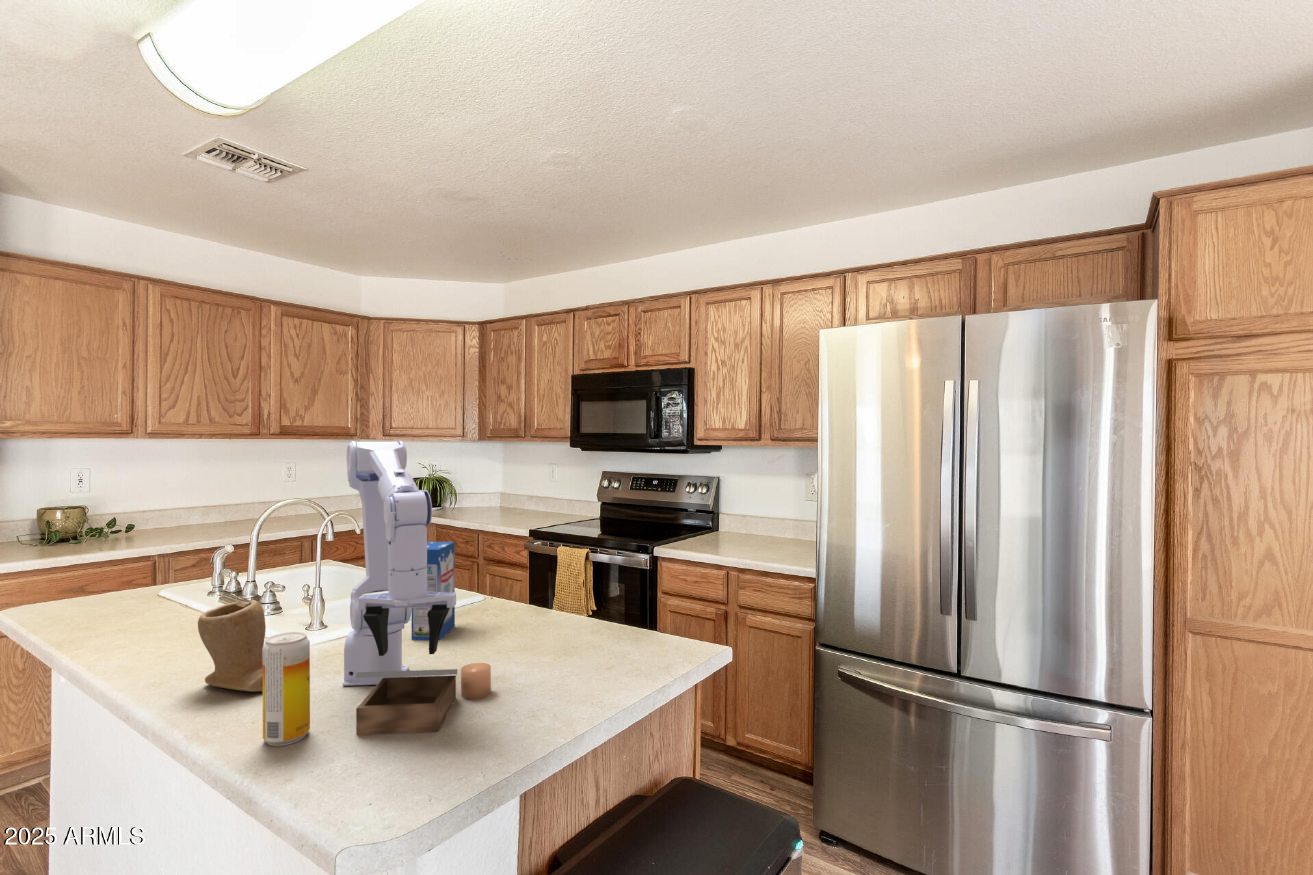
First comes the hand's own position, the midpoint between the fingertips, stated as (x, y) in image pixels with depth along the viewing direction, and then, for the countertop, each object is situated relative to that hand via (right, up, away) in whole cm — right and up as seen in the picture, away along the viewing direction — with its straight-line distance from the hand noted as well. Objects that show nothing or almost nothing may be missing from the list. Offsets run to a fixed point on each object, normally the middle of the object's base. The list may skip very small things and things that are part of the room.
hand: (408, 652), depth 101 cm
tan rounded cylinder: (+8, -11, +10) cm, 16 cm away
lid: (0, -4, +1) cm, 4 cm away
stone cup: (-35, -11, +13) cm, 38 cm away
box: (0, -11, +1) cm, 11 cm away
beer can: (-16, -11, -6) cm, 20 cm away
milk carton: (-11, -10, +43) cm, 46 cm away
